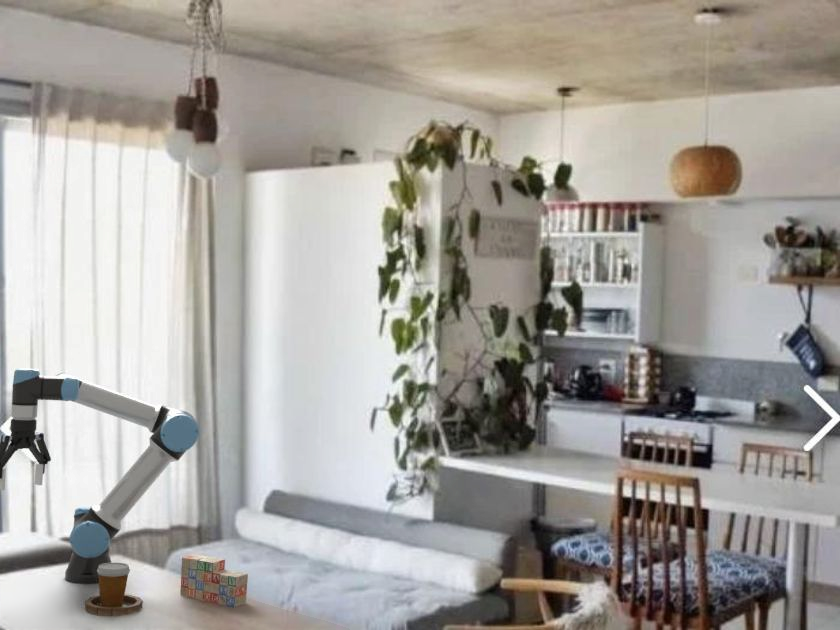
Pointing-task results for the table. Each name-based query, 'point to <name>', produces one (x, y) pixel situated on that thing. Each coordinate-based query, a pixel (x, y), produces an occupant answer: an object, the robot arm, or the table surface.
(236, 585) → the stack of blocks
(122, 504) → the robot arm
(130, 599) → the walnut bead ring
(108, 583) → the disposable coffee cup
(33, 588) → the table surface
